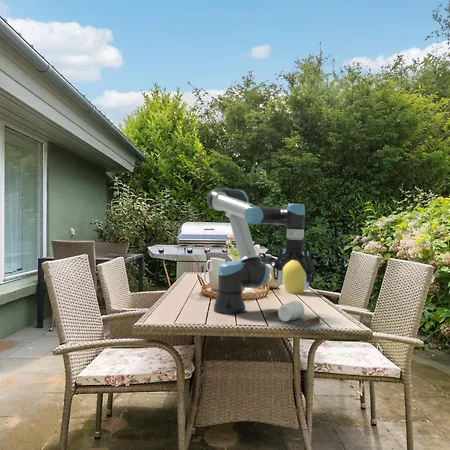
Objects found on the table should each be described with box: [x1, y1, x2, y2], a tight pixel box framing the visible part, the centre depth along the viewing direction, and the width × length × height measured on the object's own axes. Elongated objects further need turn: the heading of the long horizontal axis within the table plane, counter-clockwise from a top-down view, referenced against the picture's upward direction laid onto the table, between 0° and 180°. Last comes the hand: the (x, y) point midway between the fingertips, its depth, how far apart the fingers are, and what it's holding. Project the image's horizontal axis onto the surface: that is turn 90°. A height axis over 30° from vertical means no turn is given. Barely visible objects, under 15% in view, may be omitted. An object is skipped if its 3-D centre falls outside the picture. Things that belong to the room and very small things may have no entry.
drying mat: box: [265, 316, 321, 328], centre depth 179 cm, size 20×12×1 cm, turn 47°
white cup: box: [277, 300, 305, 321], centre depth 178 cm, size 8×8×10 cm
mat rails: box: [265, 309, 321, 327], centre depth 179 cm, size 20×12×2 cm, turn 47°
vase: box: [282, 260, 306, 295], centre depth 254 cm, size 16×16×28 cm
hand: (292, 287), depth 179 cm, fingers open, 13 cm apart
